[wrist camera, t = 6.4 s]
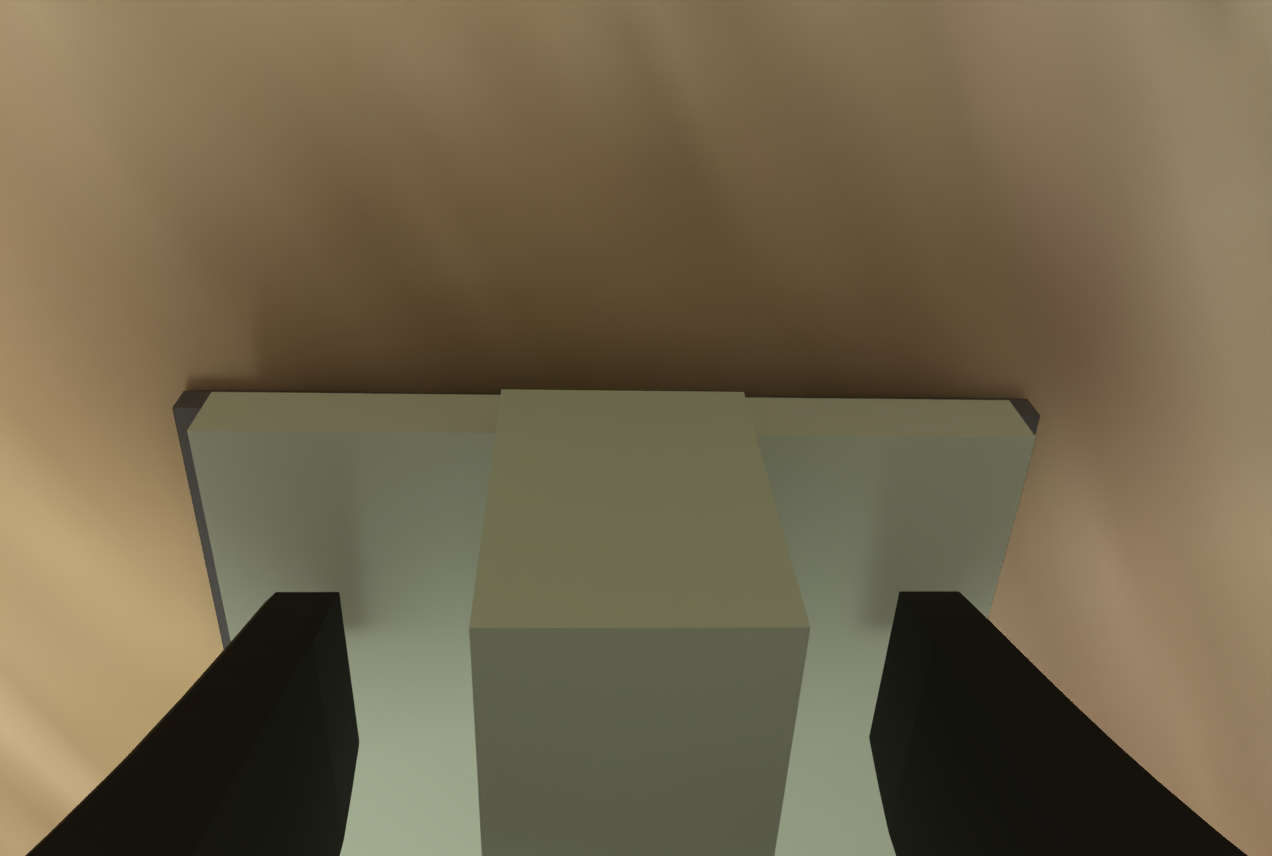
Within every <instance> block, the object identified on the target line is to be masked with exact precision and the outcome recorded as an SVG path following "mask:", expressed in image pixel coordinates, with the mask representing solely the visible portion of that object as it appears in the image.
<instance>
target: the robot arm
mask: <svg viewBox="0 0 1272 856" xmlns="http://www.w3.org/2000/svg"><path fill="white" fill-rule="evenodd" d="M869 740H870V745H871V751H872V756H873V761H874V766H875V771H876V776H877V781H878V786H879V791H880V796H881V800H882V805H883V809H884V814H885V819H886V823H887V828H888V832H889V835H890V839H891V842H892V845H893V848H894V851H895V854H896V856H1247V855H1246V854H1245V853H1244V852H1242V851H1241V850H1240V849H1238V848H1237V847H1236V846H1235V845H1233V844H1232V843H1231V842H1230V841H1228V840H1227V839H1226V838H1225V837H1223V836H1222V835H1221V834H1220V833H1219V832H1217V831H1216V830H1215V829H1214V828H1213V827H1211V826H1210V825H1209V824H1208V823H1207V822H1205V821H1204V820H1203V819H1202V818H1201V817H1200V816H1198V815H1197V814H1196V813H1195V812H1194V811H1193V810H1191V809H1190V808H1189V807H1188V806H1187V805H1185V804H1184V803H1183V802H1182V801H1181V800H1180V799H1178V798H1177V797H1176V796H1175V795H1174V794H1172V793H1171V792H1170V791H1169V790H1168V789H1167V788H1165V787H1164V786H1163V785H1162V784H1161V783H1160V782H1158V781H1157V780H1156V779H1155V778H1154V777H1153V776H1152V775H1150V774H1149V773H1148V772H1147V771H1146V770H1145V769H1144V768H1143V767H1142V766H1140V765H1139V764H1138V763H1137V762H1136V761H1135V760H1134V759H1133V758H1131V757H1130V756H1129V755H1128V754H1127V753H1126V752H1125V751H1124V750H1123V749H1121V748H1120V747H1119V746H1118V745H1117V744H1116V743H1115V742H1114V741H1113V740H1112V739H1111V738H1110V737H1108V736H1107V735H1106V734H1105V733H1104V732H1103V731H1102V730H1101V729H1100V728H1099V727H1098V726H1097V725H1096V724H1095V723H1093V722H1092V721H1091V720H1090V719H1089V718H1088V717H1087V716H1086V715H1085V714H1084V713H1083V712H1082V711H1081V710H1080V709H1079V708H1078V707H1077V706H1075V705H1074V704H1073V703H1072V702H1071V701H1070V700H1069V699H1068V698H1067V697H1066V696H1065V695H1064V694H1063V693H1062V692H1061V691H1060V690H1059V689H1058V688H1057V687H1056V686H1055V685H1054V684H1053V683H1052V682H1051V681H1050V680H1049V679H1048V678H1047V677H1046V676H1045V675H1044V674H1043V673H1042V672H1041V671H1039V670H1038V669H1037V668H1036V667H1035V666H1034V665H1033V664H1032V663H1031V662H1030V661H1029V660H1028V659H1027V658H1026V657H1025V656H1024V655H1023V654H1022V653H1021V652H1020V651H1019V650H1018V649H1017V648H1016V647H1015V646H1014V645H1013V644H1012V643H1011V642H1010V641H1009V640H1008V639H1007V638H1006V637H1005V636H1004V635H1003V634H1002V633H1001V632H1000V631H999V630H998V629H997V628H996V627H995V626H994V625H993V624H992V623H991V622H990V621H989V620H988V619H987V618H986V617H985V616H984V615H983V614H982V613H981V612H980V611H979V610H978V609H977V608H976V607H975V606H974V605H973V604H972V603H971V602H970V601H969V600H968V599H967V598H966V597H964V596H963V595H962V594H961V593H960V592H959V591H899V596H898V600H897V605H896V610H895V615H894V620H893V624H892V629H891V634H890V639H889V644H888V649H887V653H886V658H885V663H884V668H883V673H882V677H881V682H880V687H879V692H878V697H877V701H876V706H875V711H874V716H873V721H872V725H871V730H870V735H869ZM358 749H359V735H358V728H357V720H356V713H355V705H354V698H353V690H352V683H351V676H350V668H349V661H348V653H347V646H346V639H345V631H344V624H343V616H342V609H341V602H340V594H339V592H275V593H274V594H273V595H272V596H271V597H270V598H269V599H268V600H267V601H265V603H264V604H263V605H262V606H261V607H260V608H259V610H258V611H257V612H256V613H255V614H254V615H253V617H252V618H251V619H250V620H249V621H248V622H247V624H246V625H245V626H244V627H243V628H242V629H241V631H240V632H239V633H238V634H237V635H236V636H235V638H234V639H233V640H232V641H231V642H230V643H229V645H228V646H227V647H226V648H225V649H224V650H223V651H222V653H221V654H220V655H219V656H218V657H217V658H216V660H215V661H214V662H213V663H212V664H211V665H210V666H209V668H208V669H207V670H206V671H205V672H204V673H203V674H202V675H201V677H200V678H199V679H198V680H197V681H196V682H195V683H194V684H193V686H192V687H191V688H190V689H189V690H188V691H187V692H186V693H185V695H184V696H183V697H182V698H181V699H180V700H179V701H178V702H177V703H176V704H175V705H174V707H173V708H172V709H171V710H170V711H169V712H168V713H167V714H166V715H165V716H164V717H163V718H162V719H161V720H160V722H159V723H158V724H157V725H156V726H155V727H154V728H153V729H152V730H151V731H150V732H149V733H148V734H147V736H146V737H145V738H144V739H143V740H142V741H141V742H140V743H139V744H138V745H137V746H136V747H135V748H134V750H133V751H132V752H131V753H130V754H129V755H128V756H127V757H126V758H125V759H124V760H123V761H122V762H121V763H120V764H119V765H118V766H117V767H116V768H115V769H114V770H113V771H112V772H111V773H110V774H109V775H108V776H107V777H106V778H105V779H104V780H103V781H102V782H101V783H100V784H99V785H98V786H97V787H96V788H95V789H94V790H93V791H92V792H91V793H90V794H89V795H88V796H87V797H86V798H85V799H84V800H83V801H82V802H81V803H80V804H79V805H78V806H77V807H76V808H75V809H74V810H73V811H72V812H70V813H69V814H68V815H67V816H66V817H65V818H64V819H63V820H62V821H61V822H60V823H59V824H58V825H57V826H56V827H55V828H54V829H53V830H52V831H51V832H50V833H49V834H48V835H47V836H46V837H45V838H44V839H43V840H42V841H41V842H40V843H39V844H37V845H36V846H35V847H34V848H33V849H32V850H31V851H30V852H29V853H28V854H27V855H26V856H340V853H341V849H342V845H343V841H344V836H345V830H346V824H347V818H348V812H349V807H350V801H351V795H352V788H353V782H354V775H355V768H356V762H357V755H358Z"/></svg>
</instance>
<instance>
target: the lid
mask: <svg viewBox="0 0 1272 856" xmlns="http://www.w3.org/2000/svg"><path fill="white" fill-rule="evenodd" d="M187 433H188V437H189V442H190V447H191V452H192V457H193V462H194V466H195V471H196V476H197V481H198V486H199V491H200V495H201V500H202V505H203V510H204V515H205V520H206V525H207V529H208V534H209V539H210V544H211V549H212V554H213V558H214V563H215V568H216V573H217V578H218V583H219V587H220V592H221V597H222V602H223V607H224V612H225V616H226V621H227V626H228V631H229V636H230V641H232V640H233V639H234V638H235V636H236V635H237V634H238V633H239V632H240V631H241V629H242V628H243V627H244V626H245V625H246V624H247V622H248V621H249V620H250V619H251V618H252V617H253V615H254V614H255V613H256V612H257V611H258V610H259V608H260V607H261V606H262V605H263V604H264V603H265V601H267V600H268V599H269V598H270V597H271V596H272V595H273V594H274V593H275V592H339V594H340V602H341V609H342V616H343V624H344V631H345V639H346V646H347V653H348V661H349V668H350V676H351V683H352V690H353V698H354V705H355V713H356V720H357V728H358V735H359V749H358V755H357V762H356V768H355V775H354V782H353V788H352V795H351V801H350V807H349V812H348V818H347V824H346V830H345V836H344V841H343V845H342V849H341V853H340V856H896V854H895V851H894V848H893V845H892V842H891V839H890V835H889V832H888V828H887V823H886V819H885V814H884V809H883V805H882V800H881V796H880V791H879V786H878V781H877V776H876V771H875V766H874V761H873V756H872V751H871V745H870V740H869V735H870V730H871V725H872V721H873V716H874V711H875V706H876V701H877V697H878V692H879V687H880V682H881V677H882V673H883V668H884V663H885V658H886V653H887V649H888V644H889V639H890V634H891V629H892V624H893V620H894V615H895V610H896V605H897V600H898V596H899V591H959V592H960V593H961V594H962V595H963V596H964V597H966V598H967V599H968V600H969V601H970V602H971V603H972V604H973V605H974V606H975V607H976V608H977V609H978V610H979V611H980V612H981V613H982V614H983V615H984V616H985V617H986V618H987V619H988V616H989V613H990V609H991V605H992V601H993V598H994V594H995V590H996V586H997V583H998V579H999V575H1000V571H1001V568H1002V564H1003V560H1004V557H1005V553H1006V549H1007V545H1008V542H1009V538H1010V534H1011V530H1012V527H1013V523H1014V519H1015V515H1016V512H1017V508H1018V504H1019V500H1020V497H1021V493H1022V489H1023V486H1024V482H1025V478H1026V474H1027V471H1028V467H1029V463H1030V459H1031V456H1032V452H1033V448H1034V444H1035V441H1036V436H1035V435H1034V434H1033V432H1032V431H1031V430H1030V428H1029V427H1028V425H1027V424H1026V423H1025V421H1024V420H1023V419H1022V417H1021V416H1020V414H1019V413H1018V412H1017V410H1016V409H1015V408H1014V406H1013V405H1012V404H1011V402H1010V401H1009V400H934V399H839V398H745V394H744V392H701V391H609V390H516V389H501V395H458V394H362V393H267V392H211V393H210V395H209V397H208V398H207V400H206V401H205V403H204V404H203V406H202V408H201V409H200V411H199V412H198V414H197V416H196V417H195V419H194V420H193V422H192V423H191V425H190V427H189V428H188V430H187Z"/></svg>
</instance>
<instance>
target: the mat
mask: <svg viewBox="0 0 1272 856" xmlns="http://www.w3.org/2000/svg"><path fill="white" fill-rule="evenodd" d="M211 392H238V391H184V392H183V393H182V395H181V396H180V397H179V399H178V400H177V402H176V403H175V405H174V406H173V413H174V418H175V422H176V427H177V432H178V436H179V441H180V446H181V451H182V455H183V460H184V465H185V469H186V474H187V479H188V483H189V488H190V493H191V497H192V502H193V507H194V512H195V516H196V521H197V526H198V530H199V535H200V540H201V544H202V549H203V554H204V559H205V563H206V568H207V573H208V577H209V582H210V587H211V591H212V596H213V601H214V605H215V610H216V615H217V620H218V624H219V629H220V634H221V638H222V643H223V648H224V649H225V648H226V647H227V646H228V645H229V643H230V642H231V641H230V636H229V631H228V626H227V621H226V616H225V612H224V607H223V602H222V597H221V592H220V587H219V583H218V578H217V573H216V568H215V563H214V558H213V554H212V549H211V544H210V539H209V534H208V529H207V525H206V520H205V515H204V510H203V505H202V500H201V495H200V491H199V486H198V481H197V476H196V471H195V466H194V462H193V457H192V452H191V447H190V442H189V437H188V433H187V430H188V428H189V427H190V425H191V423H192V422H193V420H194V419H195V417H196V416H197V414H198V412H199V411H200V409H201V408H202V406H203V404H204V403H205V401H206V400H207V398H208V397H209V395H210V393H211ZM267 393H339V392H267ZM362 394H439V393H362ZM458 395H501V394H458ZM745 398H839V399H934V400H1009V401H1010V402H1011V404H1012V405H1013V406H1014V408H1015V409H1016V410H1017V412H1018V413H1019V414H1020V416H1021V417H1022V419H1023V420H1024V421H1025V423H1026V424H1027V425H1028V427H1029V428H1030V430H1031V431H1032V432H1033V434H1034V435H1035V433H1036V429H1037V425H1038V421H1039V418H1040V415H1039V414H1038V412H1037V411H1036V410H1035V408H1034V407H1033V406H1032V404H1031V403H1030V402H1029V401H1028V399H942V398H842V397H745Z"/></svg>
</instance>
